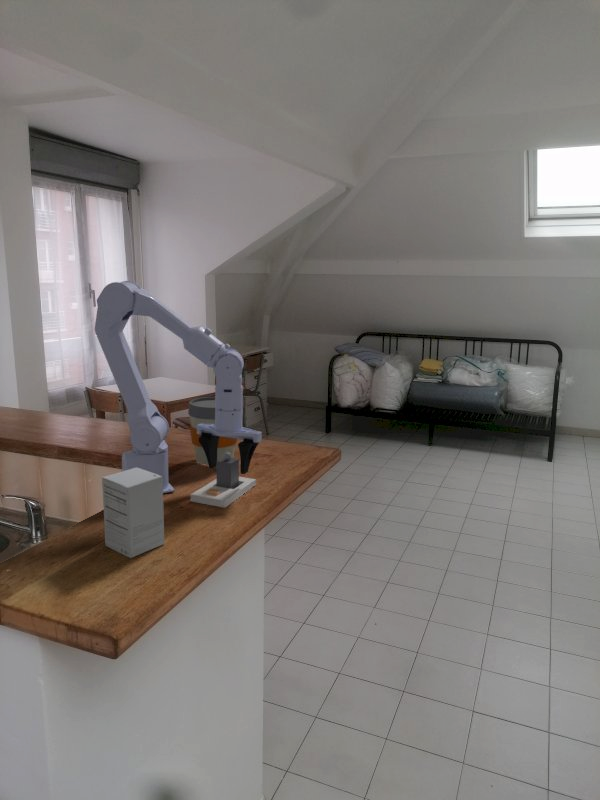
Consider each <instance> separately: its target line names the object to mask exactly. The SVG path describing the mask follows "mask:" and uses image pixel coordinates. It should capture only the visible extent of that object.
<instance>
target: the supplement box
mask: <svg viewBox="0 0 600 800" xmlns="http://www.w3.org/2000/svg"><path fill="white" fill-rule="evenodd" d="M101 484H102V485H101V487H102V502H103V521H104V522H103V524H104V541H105V544H104V545H105V546H106V547H107V548H110V549H111V550H113V551H115V552H117V553H120V554H121V555H122V556H125V557H128V558H129V559H132V558H135V557H136V556H139V555H142V554H144V553H146V552H149V551H151V550H153V549H155V548H158V547H161V546H163V545H164V544H165V520H164V519H165V517H164V516H165V515H164V514H165V513H164V493H163V480H162V476H160V475H157V474H155V473H152V472H149V471H146V470H143V469H140V468H137V467H136V468H132V469H129V470H126V471H122V470H121V471H119V472H116V473H113V474H109V475H105V476H102V477H101Z"/></svg>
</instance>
